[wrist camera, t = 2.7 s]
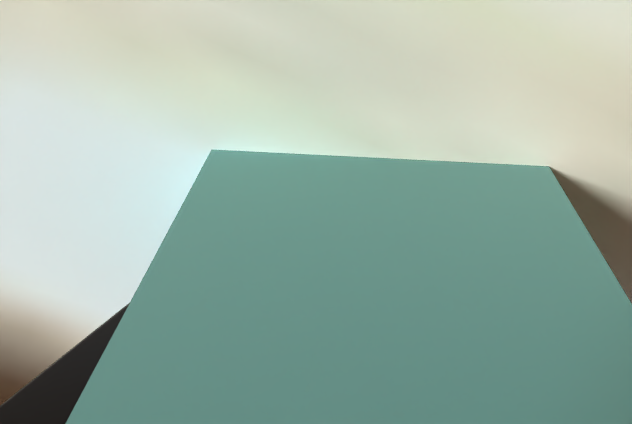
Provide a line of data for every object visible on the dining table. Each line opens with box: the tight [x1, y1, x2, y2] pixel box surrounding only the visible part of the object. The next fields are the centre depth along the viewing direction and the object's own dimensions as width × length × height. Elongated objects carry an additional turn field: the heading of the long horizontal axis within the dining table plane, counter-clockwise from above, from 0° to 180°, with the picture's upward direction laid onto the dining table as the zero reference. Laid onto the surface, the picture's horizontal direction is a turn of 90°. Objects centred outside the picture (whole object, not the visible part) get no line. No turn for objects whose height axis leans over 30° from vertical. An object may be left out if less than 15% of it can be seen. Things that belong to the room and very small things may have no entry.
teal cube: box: [66, 150, 632, 424], centre depth 7 cm, size 5×5×5 cm
